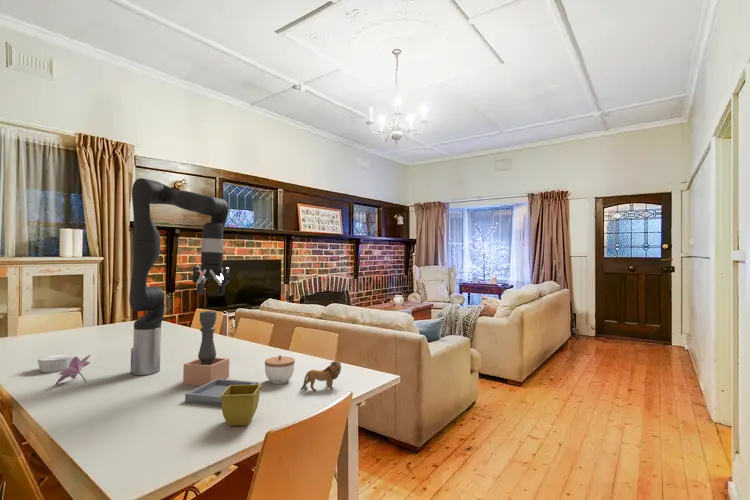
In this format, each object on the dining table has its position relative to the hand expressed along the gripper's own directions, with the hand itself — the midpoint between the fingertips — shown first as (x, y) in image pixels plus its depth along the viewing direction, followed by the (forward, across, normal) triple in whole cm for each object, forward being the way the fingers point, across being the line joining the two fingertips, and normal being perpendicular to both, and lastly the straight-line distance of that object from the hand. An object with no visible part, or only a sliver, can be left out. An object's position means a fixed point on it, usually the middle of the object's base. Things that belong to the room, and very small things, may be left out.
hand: (210, 294), depth 142 cm
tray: (+31, +16, -12) cm, 37 cm away
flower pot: (+31, +33, -29) cm, 53 cm away
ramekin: (+33, -66, -5) cm, 74 cm away
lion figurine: (+30, +44, +3) cm, 53 cm away
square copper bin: (+31, 0, 0) cm, 31 cm away
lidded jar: (+31, +26, +6) cm, 41 cm away
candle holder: (+32, 0, 0) cm, 32 cm away
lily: (+33, -44, -14) cm, 56 cm away
